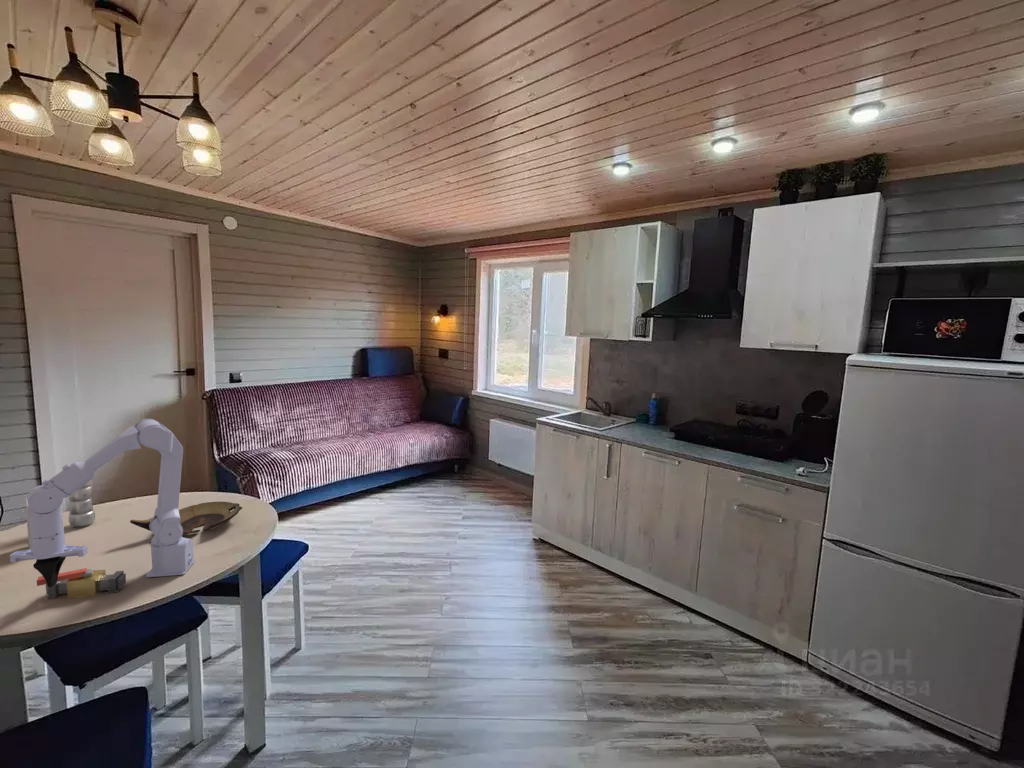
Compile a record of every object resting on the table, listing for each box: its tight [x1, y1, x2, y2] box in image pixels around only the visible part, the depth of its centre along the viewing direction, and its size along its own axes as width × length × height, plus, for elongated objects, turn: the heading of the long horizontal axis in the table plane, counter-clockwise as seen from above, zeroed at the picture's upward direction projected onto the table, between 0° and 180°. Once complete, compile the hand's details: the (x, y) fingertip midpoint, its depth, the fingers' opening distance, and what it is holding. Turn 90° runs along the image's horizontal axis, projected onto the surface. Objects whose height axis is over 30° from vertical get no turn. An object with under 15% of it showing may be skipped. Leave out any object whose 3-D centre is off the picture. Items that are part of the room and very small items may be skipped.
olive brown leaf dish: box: [129, 501, 243, 535], centre depth 160 cm, size 22×30×8 cm
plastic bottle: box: [68, 479, 96, 528], centre depth 157 cm, size 6×7×20 cm
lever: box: [36, 567, 93, 587], centre depth 119 cm, size 10×2×2 cm, turn 126°
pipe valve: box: [45, 569, 127, 599], centre depth 122 cm, size 16×5×5 cm, turn 105°
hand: (52, 584), depth 116 cm, fingers closed, pressing on lever
